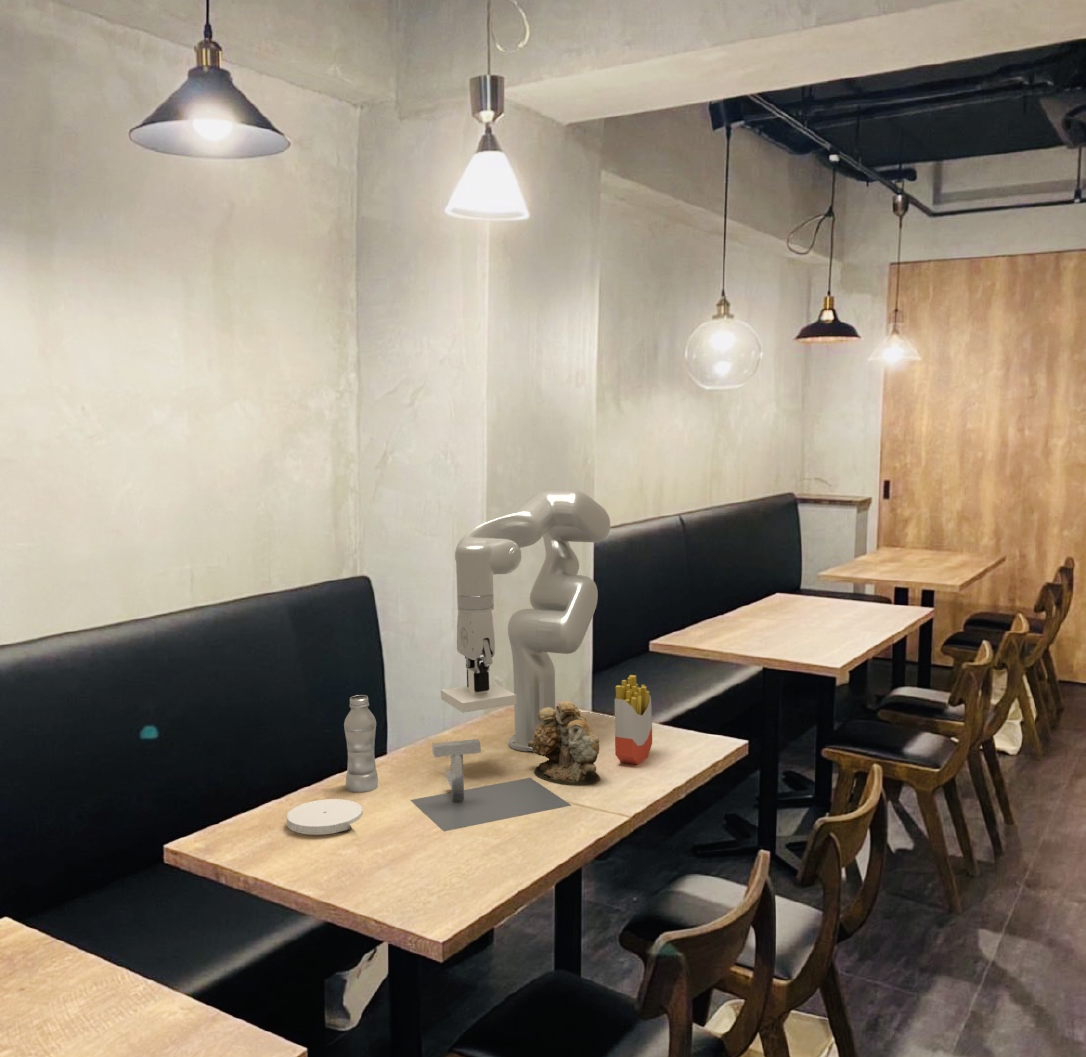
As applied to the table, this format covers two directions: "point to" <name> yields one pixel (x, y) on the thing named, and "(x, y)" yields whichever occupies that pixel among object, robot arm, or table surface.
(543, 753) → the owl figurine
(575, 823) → the table surface
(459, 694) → the cover
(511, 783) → the base
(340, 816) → the plastic lid
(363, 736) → the plastic bottle
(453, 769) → the t key
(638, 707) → the french fries container
